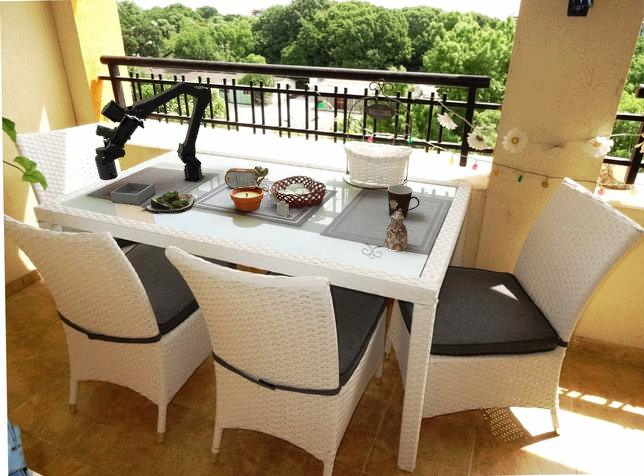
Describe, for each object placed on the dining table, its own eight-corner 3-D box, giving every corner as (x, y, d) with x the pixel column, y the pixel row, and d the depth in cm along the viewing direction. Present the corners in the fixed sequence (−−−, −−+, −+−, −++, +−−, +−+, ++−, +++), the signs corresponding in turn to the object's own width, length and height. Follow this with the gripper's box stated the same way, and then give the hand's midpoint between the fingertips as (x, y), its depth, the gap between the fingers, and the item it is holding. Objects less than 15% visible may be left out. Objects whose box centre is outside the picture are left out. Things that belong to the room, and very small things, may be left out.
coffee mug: (381, 212, 165) (383, 186, 160) (401, 208, 168) (403, 183, 163) (398, 225, 155) (400, 198, 151) (419, 221, 158) (422, 194, 154)
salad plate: (155, 194, 181) (153, 183, 179) (199, 194, 182) (198, 183, 180) (139, 214, 164) (137, 203, 162) (188, 214, 165) (187, 202, 163)
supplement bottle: (95, 179, 177) (88, 149, 172) (109, 173, 183) (102, 144, 177) (109, 181, 175) (101, 151, 169) (122, 176, 181) (115, 146, 175)
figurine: (380, 247, 142) (382, 212, 136) (389, 238, 147) (392, 204, 141) (401, 253, 138) (405, 218, 133) (410, 244, 144) (413, 209, 138)
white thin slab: (289, 215, 163) (288, 194, 159) (286, 216, 162) (285, 196, 158) (272, 211, 166) (271, 191, 162) (270, 213, 165) (268, 192, 161)
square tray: (155, 193, 181) (153, 184, 180) (139, 204, 171) (137, 195, 170) (129, 191, 184) (127, 181, 182) (112, 202, 174) (109, 192, 172)
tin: (262, 187, 187) (261, 168, 183) (260, 190, 184) (259, 171, 180) (227, 186, 188) (224, 167, 184) (224, 189, 186) (222, 169, 182)
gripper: (103, 112, 177) (79, 144, 177) (108, 122, 162) (83, 156, 163) (128, 129, 184) (106, 160, 184) (136, 140, 169) (111, 173, 170)
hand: (101, 162), depth 175 cm, fingers closed on supplement bottle, 7 cm apart
